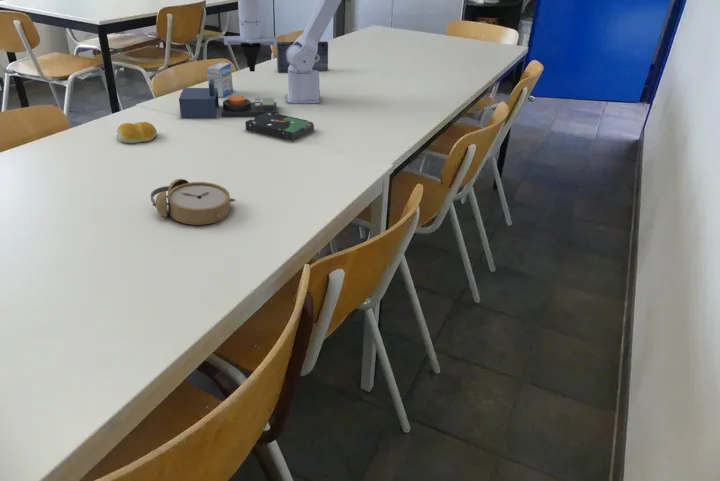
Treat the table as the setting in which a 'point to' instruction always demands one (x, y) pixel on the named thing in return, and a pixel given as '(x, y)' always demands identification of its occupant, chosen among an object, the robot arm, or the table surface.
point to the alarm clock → (193, 202)
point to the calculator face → (264, 101)
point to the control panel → (246, 109)
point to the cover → (199, 102)
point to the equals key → (236, 100)
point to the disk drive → (280, 126)
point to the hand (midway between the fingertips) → (252, 70)
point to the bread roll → (136, 132)
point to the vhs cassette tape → (319, 62)
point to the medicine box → (221, 78)
